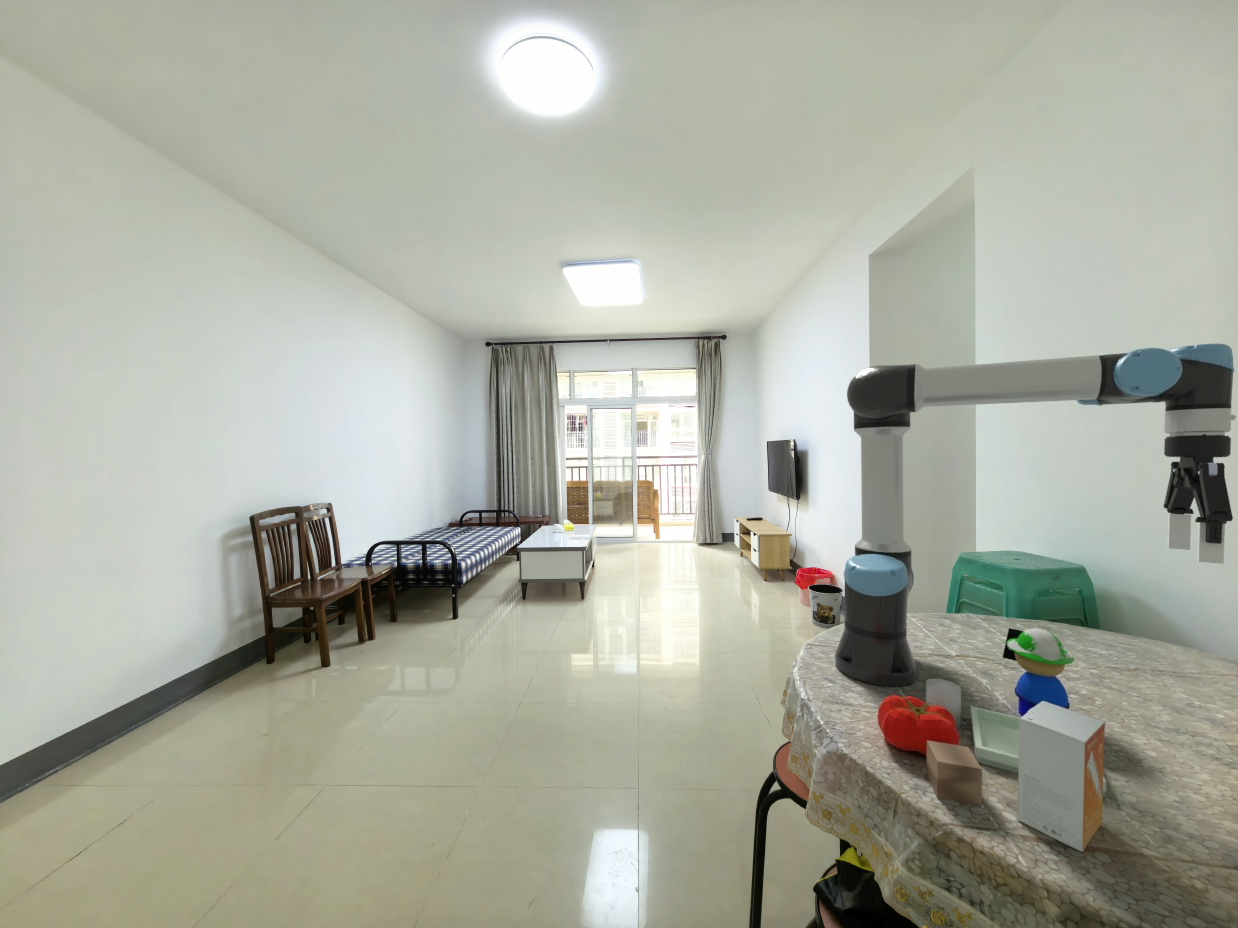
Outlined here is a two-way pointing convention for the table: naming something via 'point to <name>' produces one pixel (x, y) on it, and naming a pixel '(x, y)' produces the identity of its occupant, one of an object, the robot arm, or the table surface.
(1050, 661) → the toy
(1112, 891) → the table surface
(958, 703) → the grey cylinder
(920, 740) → the tomato
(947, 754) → the walnut cube
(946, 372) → the robot arm
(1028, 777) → the small box
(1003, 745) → the tray
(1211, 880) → the table surface
